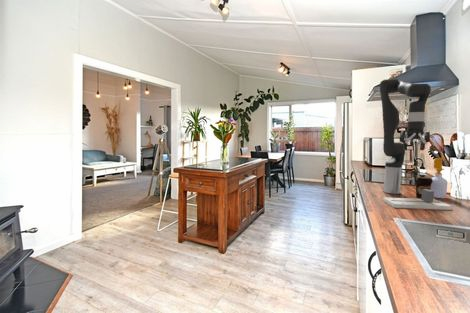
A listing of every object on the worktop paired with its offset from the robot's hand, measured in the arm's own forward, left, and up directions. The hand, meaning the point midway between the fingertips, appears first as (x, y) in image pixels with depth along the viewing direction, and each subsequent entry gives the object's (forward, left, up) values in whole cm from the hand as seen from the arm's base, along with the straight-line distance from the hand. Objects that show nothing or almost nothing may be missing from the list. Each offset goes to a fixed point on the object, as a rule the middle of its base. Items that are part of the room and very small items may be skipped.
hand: (413, 150), depth 138 cm
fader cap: (+4, +7, -28) cm, 29 cm away
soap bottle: (-16, +25, -30) cm, 42 cm away
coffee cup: (-10, +13, -30) cm, 34 cm away
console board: (+5, +1, -30) cm, 30 cm away
